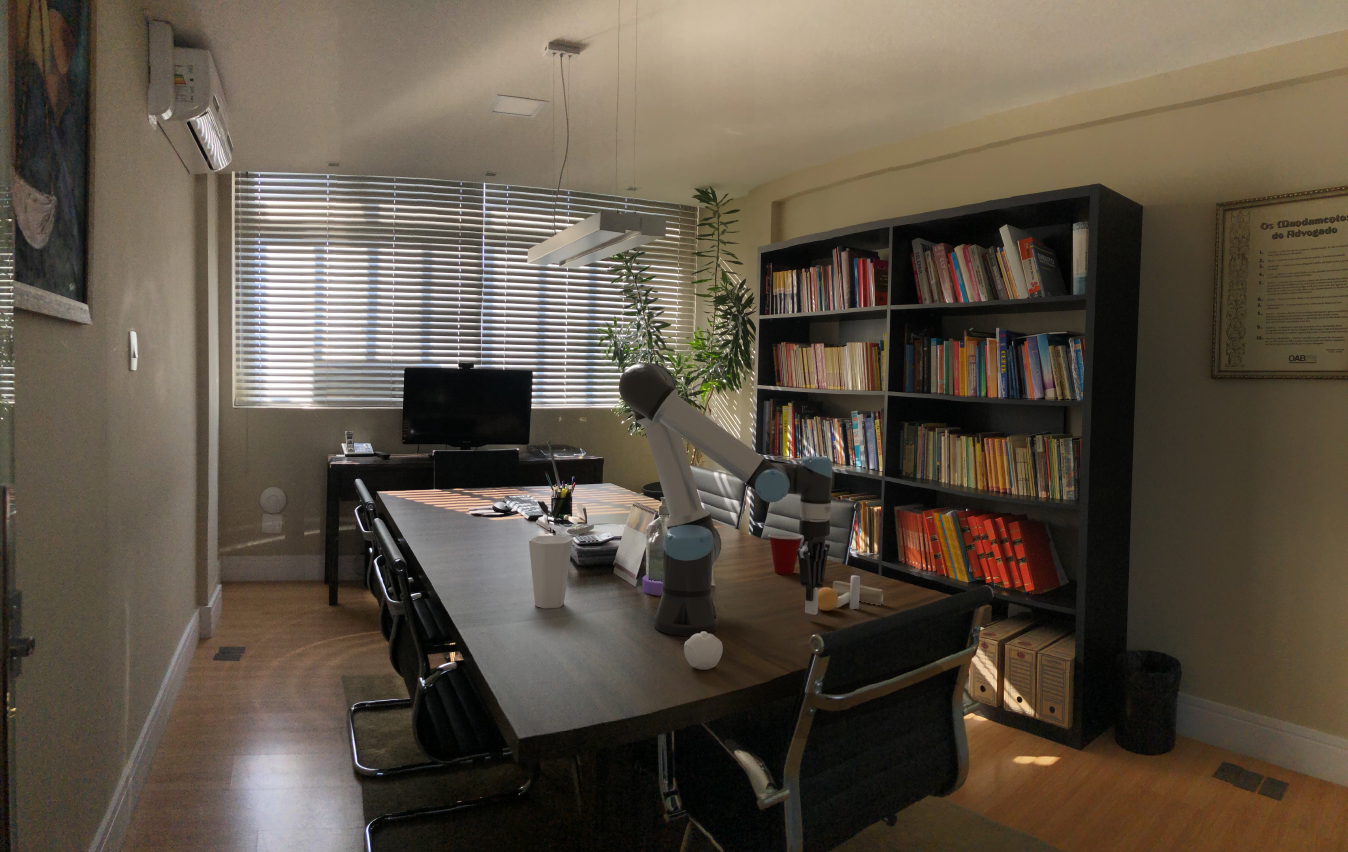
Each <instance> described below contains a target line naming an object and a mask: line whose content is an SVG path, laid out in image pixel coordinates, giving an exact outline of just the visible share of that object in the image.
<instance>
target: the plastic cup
mask: <svg viewBox="0 0 1348 852" xmlns="http://www.w3.org/2000/svg"><path fill="white" fill-rule="evenodd" d="M767 537H768V538H769V544H770V547H771V557H772V562H773V569H774V573H776V574H778V575H782V576H783V575H785V576H787V575H789V576H790V575H793V574H794V571H795V569H796V563H797V559H798V555H797V550H798V549H799V550H800V546H801V541H802V539H804V536H803V535H801V534H800V535H799V534H794V533H793V534H792V533H791V534H790V533H769V534H768V535H767Z"/></svg>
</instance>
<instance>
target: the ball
mask: <svg viewBox="0 0 1348 852" xmlns="http://www.w3.org/2000/svg"><path fill="white" fill-rule="evenodd" d="M837 603H838V596H837V593H836V592H835V591H834V590H833V588H831V587H825V586H823V587H820V588H819V589H818V609H819V610H821V611H825V612H827V611H832V610H834V609H835V608H836V605H837Z"/></svg>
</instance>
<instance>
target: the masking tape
mask: <svg viewBox="0 0 1348 852" xmlns="http://www.w3.org/2000/svg"><path fill="white" fill-rule="evenodd" d="M647 575H648V574H646V575H644V576H643V577H642V592H644V593H645V594H648V595H652V596H659V597H660V596H661V597H662V593H663V582H661V581H654V580H652V581H651V580H648V576H647Z"/></svg>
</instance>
